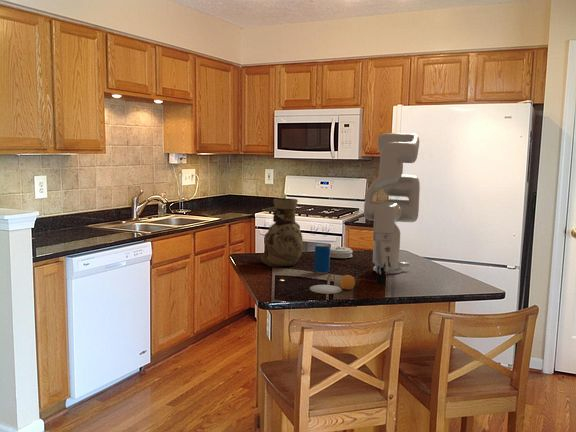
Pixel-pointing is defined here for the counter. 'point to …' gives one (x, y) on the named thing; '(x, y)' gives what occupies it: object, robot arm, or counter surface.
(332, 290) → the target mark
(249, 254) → the counter surface
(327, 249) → the beverage can
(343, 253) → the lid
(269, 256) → the ceramic vessel
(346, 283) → the ball
